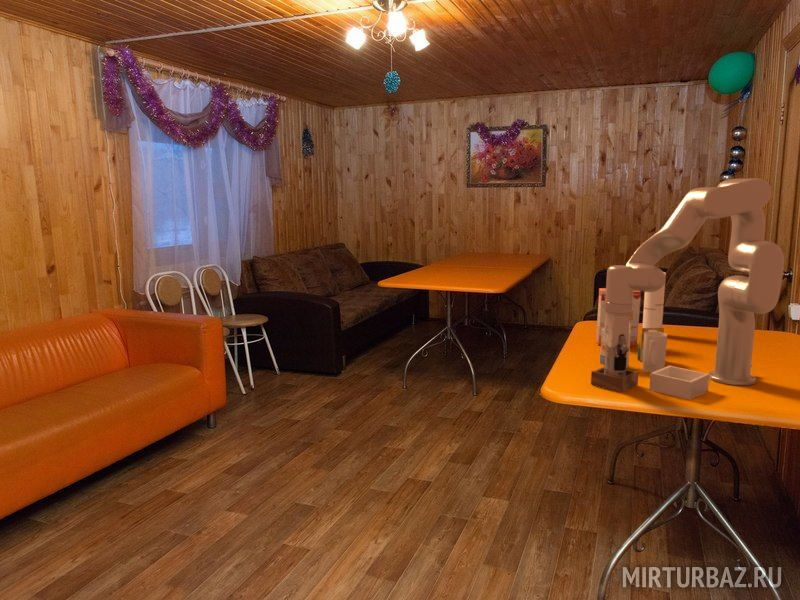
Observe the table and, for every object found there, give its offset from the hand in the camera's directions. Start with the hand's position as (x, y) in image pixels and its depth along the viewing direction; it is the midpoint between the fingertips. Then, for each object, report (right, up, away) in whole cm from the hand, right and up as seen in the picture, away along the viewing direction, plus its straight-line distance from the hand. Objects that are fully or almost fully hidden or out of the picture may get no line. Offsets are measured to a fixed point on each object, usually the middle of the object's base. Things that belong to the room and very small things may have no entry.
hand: (615, 365), depth 180 cm
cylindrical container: (+37, +5, +64) cm, 74 cm away
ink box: (+7, -2, +21) cm, 23 cm away
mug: (+17, -4, +14) cm, 22 cm away
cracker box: (+18, +2, +49) cm, 52 cm away
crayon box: (+21, -1, +27) cm, 34 cm away
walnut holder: (0, -6, +1) cm, 6 cm away
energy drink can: (0, -6, +1) cm, 6 cm away
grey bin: (+17, -7, -4) cm, 19 cm away
